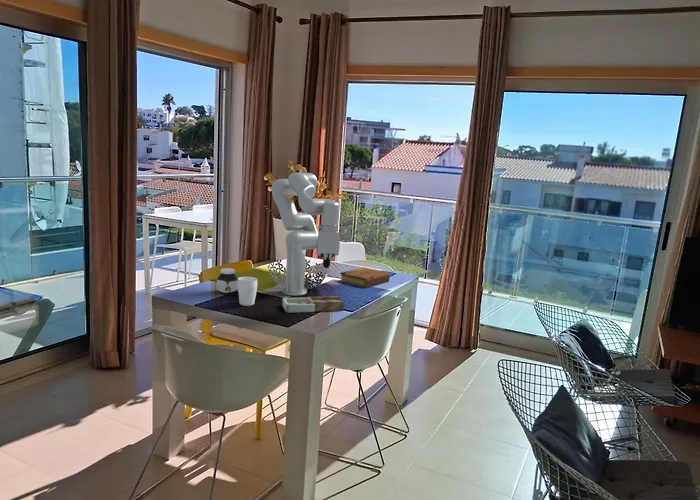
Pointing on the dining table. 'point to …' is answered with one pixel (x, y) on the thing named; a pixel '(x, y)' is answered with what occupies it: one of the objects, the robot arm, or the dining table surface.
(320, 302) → the bench plate
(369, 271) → the diary
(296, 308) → the box
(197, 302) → the dining table surface
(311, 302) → the maple tile
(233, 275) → the spread jar
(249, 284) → the cup
